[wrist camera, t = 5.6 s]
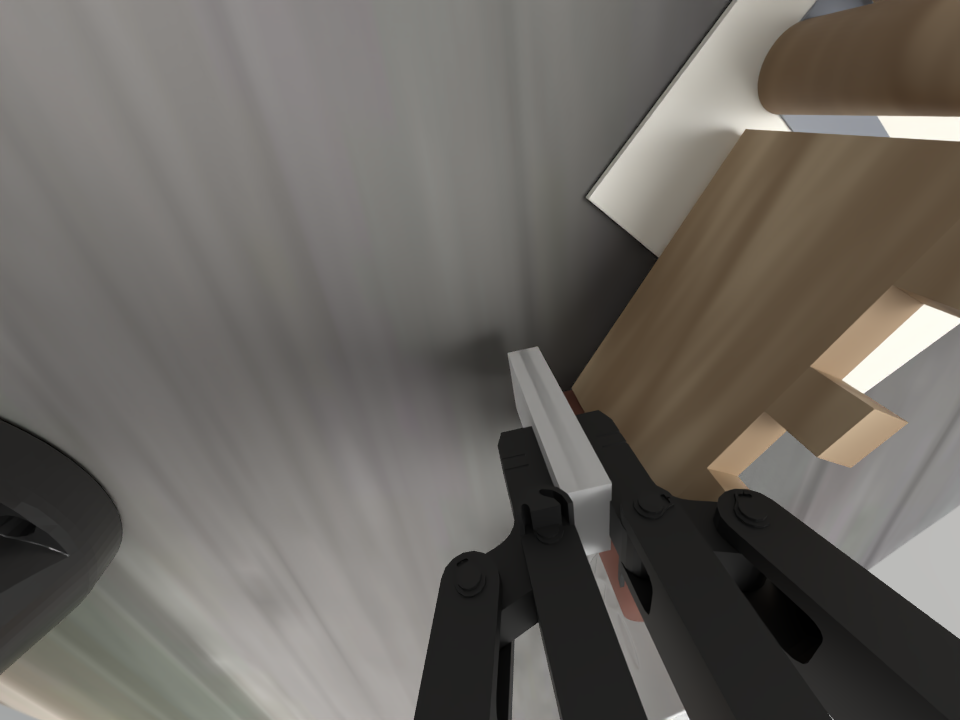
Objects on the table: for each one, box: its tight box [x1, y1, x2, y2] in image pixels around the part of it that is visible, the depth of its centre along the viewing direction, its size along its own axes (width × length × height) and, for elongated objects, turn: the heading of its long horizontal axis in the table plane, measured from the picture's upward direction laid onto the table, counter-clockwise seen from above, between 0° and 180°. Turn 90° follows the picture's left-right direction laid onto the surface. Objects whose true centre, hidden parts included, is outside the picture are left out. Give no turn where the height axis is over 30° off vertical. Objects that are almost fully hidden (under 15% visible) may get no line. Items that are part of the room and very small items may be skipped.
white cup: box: [587, 553, 690, 720], centre depth 21 cm, size 8×8×10 cm
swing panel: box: [563, 129, 960, 622], centre depth 12 cm, size 2×13×8 cm, turn 156°
